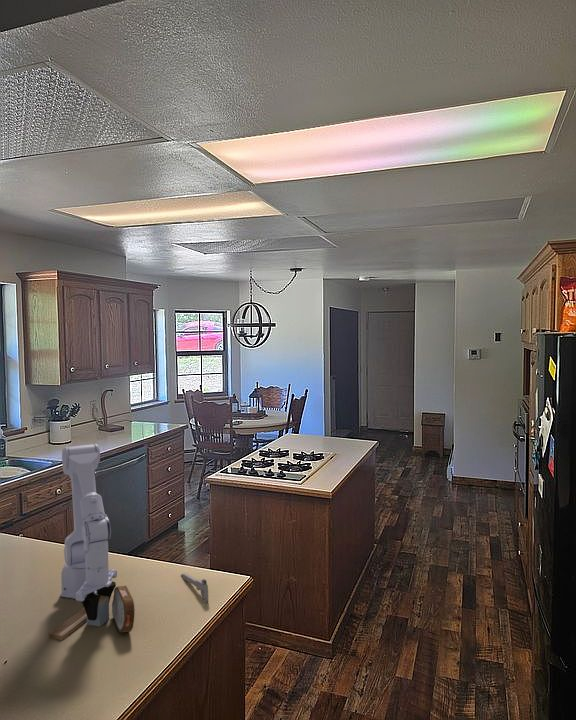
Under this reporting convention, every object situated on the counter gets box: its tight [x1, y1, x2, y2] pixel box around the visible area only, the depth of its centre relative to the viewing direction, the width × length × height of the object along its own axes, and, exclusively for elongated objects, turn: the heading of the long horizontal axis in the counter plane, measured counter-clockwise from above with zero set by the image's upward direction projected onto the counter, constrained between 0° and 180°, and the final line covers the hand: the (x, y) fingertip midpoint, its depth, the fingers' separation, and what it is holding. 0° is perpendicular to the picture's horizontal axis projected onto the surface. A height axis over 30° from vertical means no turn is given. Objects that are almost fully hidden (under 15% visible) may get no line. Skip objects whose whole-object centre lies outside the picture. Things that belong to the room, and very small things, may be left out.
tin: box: [111, 585, 135, 633], centre depth 137 cm, size 15×3×8 cm, turn 29°
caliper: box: [180, 572, 209, 603], centre depth 157 cm, size 20×1×6 cm, turn 31°
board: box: [48, 607, 87, 641], centre depth 137 cm, size 4×14×1 cm, turn 163°
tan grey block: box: [86, 595, 110, 627], centre depth 138 cm, size 4×4×6 cm
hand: (97, 614), depth 139 cm, fingers open, 4 cm apart
